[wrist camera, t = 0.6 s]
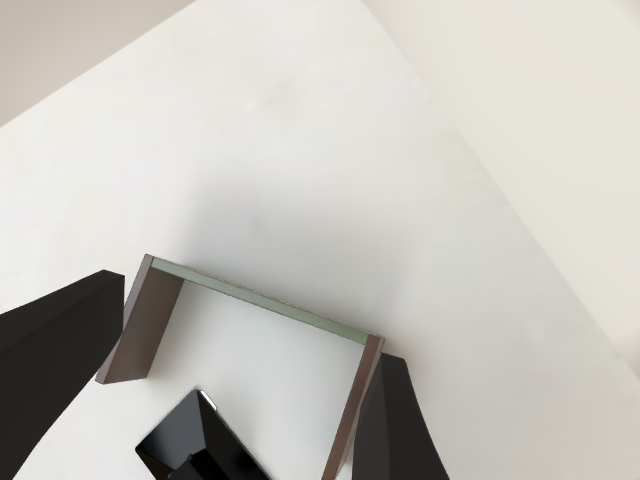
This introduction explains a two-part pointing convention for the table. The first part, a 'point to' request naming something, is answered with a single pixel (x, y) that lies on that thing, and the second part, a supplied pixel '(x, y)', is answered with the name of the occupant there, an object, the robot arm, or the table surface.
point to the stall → (167, 277)
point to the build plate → (197, 446)
